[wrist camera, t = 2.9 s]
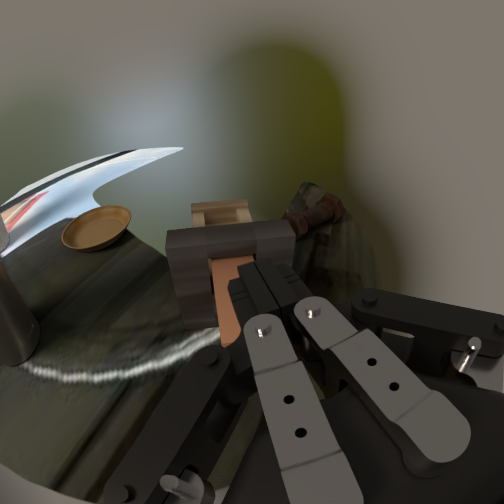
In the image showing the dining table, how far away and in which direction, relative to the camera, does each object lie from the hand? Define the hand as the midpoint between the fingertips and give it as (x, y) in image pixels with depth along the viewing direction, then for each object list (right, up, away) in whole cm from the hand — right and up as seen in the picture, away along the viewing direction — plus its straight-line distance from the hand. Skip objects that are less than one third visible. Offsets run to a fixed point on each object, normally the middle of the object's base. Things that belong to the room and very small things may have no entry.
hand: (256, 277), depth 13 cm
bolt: (+9, +5, +36) cm, 38 cm away
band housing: (-4, -3, +26) cm, 26 cm away
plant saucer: (-30, +4, +35) cm, 46 cm away
